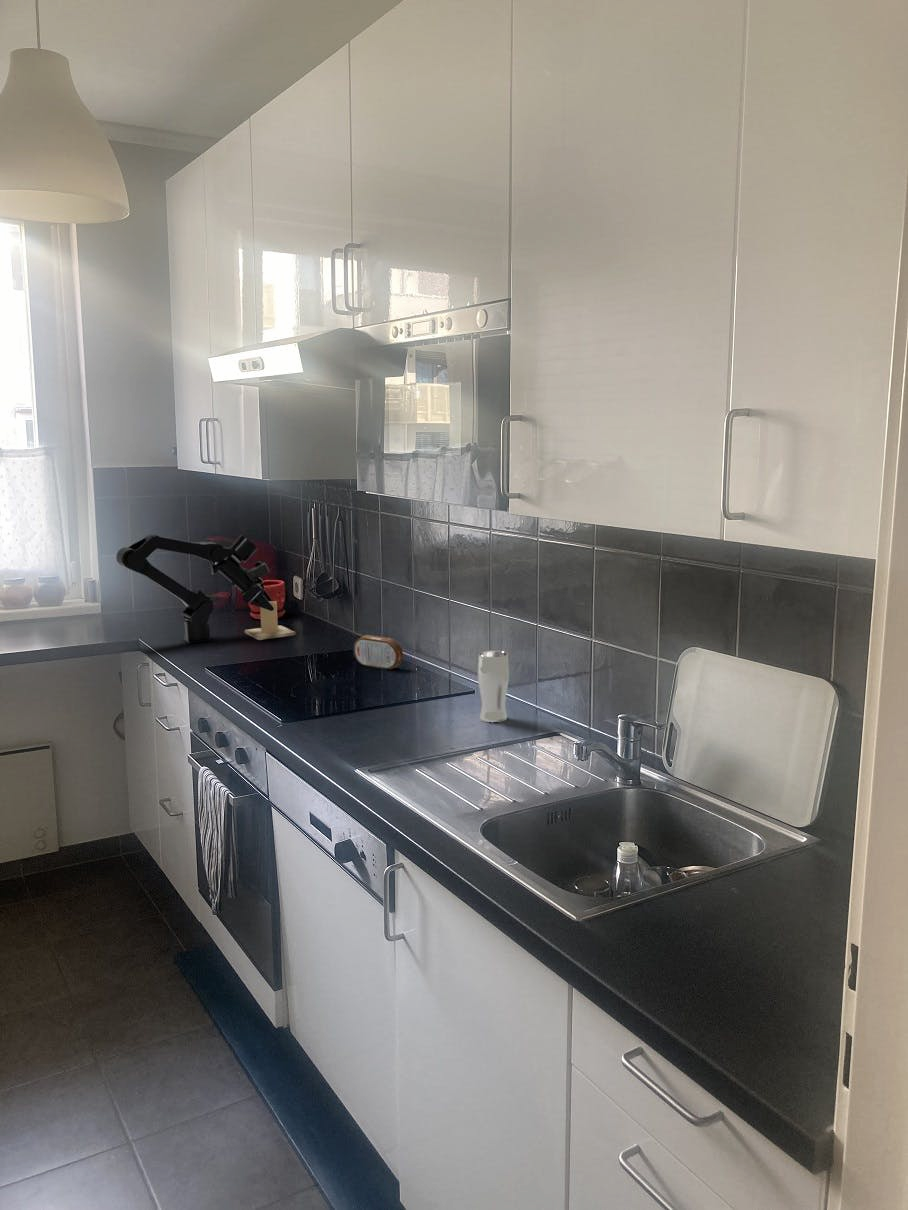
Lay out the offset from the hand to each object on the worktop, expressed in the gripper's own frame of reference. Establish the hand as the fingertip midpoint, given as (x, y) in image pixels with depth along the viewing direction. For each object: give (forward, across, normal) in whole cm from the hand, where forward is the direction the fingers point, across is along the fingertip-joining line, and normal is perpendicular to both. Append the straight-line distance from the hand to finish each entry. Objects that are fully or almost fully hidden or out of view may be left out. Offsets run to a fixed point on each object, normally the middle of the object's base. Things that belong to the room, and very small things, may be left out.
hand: (273, 607), depth 310 cm
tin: (+26, -49, -14) cm, 57 cm away
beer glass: (+41, -100, -28) cm, 112 cm away
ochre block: (+4, 0, +6) cm, 8 cm away
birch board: (+5, 0, +7) cm, 9 cm away
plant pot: (+4, +28, +8) cm, 29 cm away
